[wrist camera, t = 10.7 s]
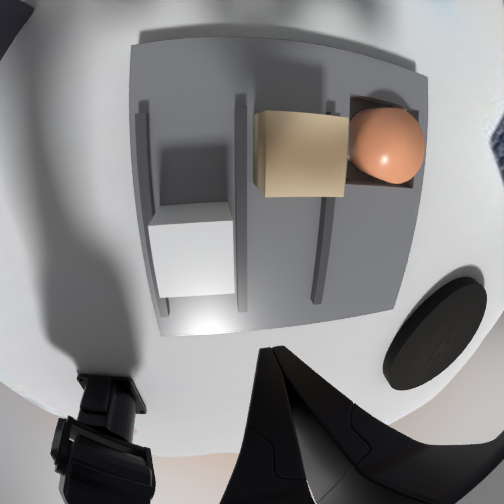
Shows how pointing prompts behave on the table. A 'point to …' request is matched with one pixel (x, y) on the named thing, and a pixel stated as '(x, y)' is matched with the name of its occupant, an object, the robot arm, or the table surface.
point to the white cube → (193, 249)
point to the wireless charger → (435, 334)
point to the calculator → (12, 21)
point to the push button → (386, 144)
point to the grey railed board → (248, 195)
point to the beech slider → (299, 154)
